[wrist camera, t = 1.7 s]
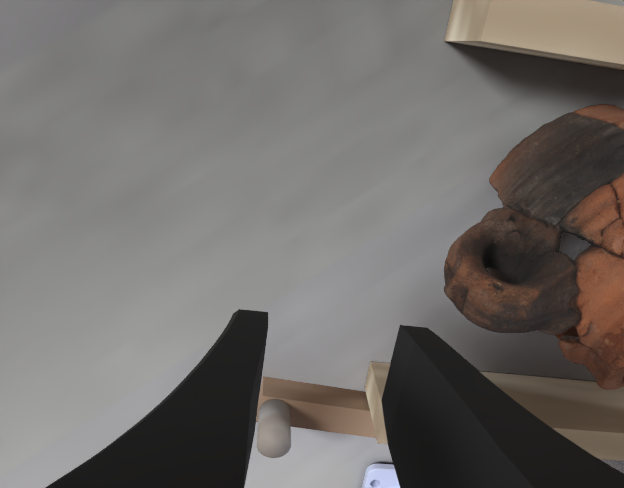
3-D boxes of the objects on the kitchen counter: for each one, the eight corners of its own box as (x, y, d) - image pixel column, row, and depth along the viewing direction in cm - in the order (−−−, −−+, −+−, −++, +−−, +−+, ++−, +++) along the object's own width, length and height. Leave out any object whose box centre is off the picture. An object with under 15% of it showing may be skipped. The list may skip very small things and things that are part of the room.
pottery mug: (683, 64, 19) (923, 202, 14) (583, 229, 26) (716, 361, 21) (406, 131, 16) (575, 334, 11) (379, 295, 23) (474, 464, 18)
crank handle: (384, 392, 24) (400, 447, 20) (376, 416, 24) (390, 473, 21) (263, 374, 23) (260, 429, 20) (257, 399, 23) (253, 456, 20)
